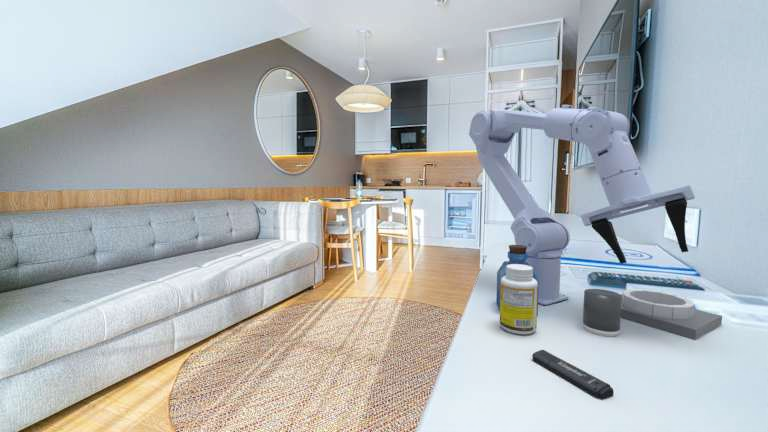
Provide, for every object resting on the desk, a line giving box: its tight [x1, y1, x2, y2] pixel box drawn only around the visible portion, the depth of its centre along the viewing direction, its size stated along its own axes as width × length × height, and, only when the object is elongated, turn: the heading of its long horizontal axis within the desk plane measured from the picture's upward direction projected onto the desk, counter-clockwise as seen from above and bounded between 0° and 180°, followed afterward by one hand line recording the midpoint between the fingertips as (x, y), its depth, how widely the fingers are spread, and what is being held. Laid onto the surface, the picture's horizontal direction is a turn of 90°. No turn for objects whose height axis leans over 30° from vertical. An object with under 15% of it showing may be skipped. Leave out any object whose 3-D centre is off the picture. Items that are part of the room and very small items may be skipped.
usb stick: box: [532, 349, 615, 400], centre depth 40 cm, size 10×3×2 cm, turn 23°
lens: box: [582, 288, 622, 338], centre depth 53 cm, size 5×5×6 cm
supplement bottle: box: [499, 264, 538, 336], centre depth 53 cm, size 6×6×10 cm
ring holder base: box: [620, 288, 723, 341], centre depth 58 cm, size 14×11×4 cm
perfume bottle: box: [495, 244, 539, 318], centre depth 62 cm, size 6×6×12 cm
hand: (653, 257), depth 51 cm, fingers open, 7 cm apart
